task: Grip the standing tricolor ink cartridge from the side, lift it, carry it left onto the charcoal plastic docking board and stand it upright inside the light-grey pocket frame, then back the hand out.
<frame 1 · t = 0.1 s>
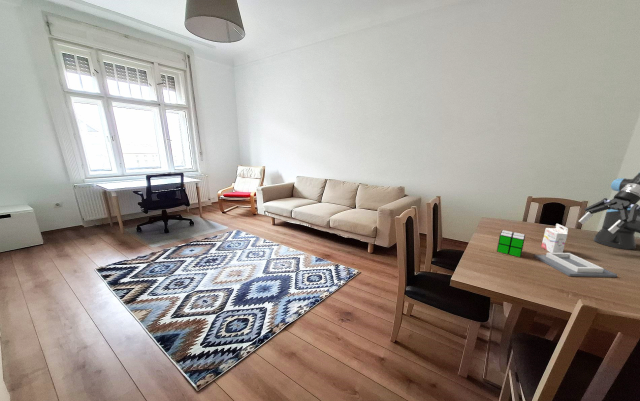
hand: (594, 227, 118), 15 cm above the table, tool tilted 35°, fingers open, 13 cm apart
cartridge dock: (571, 266, 109), on the table
puzzle cube: (508, 251, 124), on the table
ink cartridge box: (551, 250, 125), on the table
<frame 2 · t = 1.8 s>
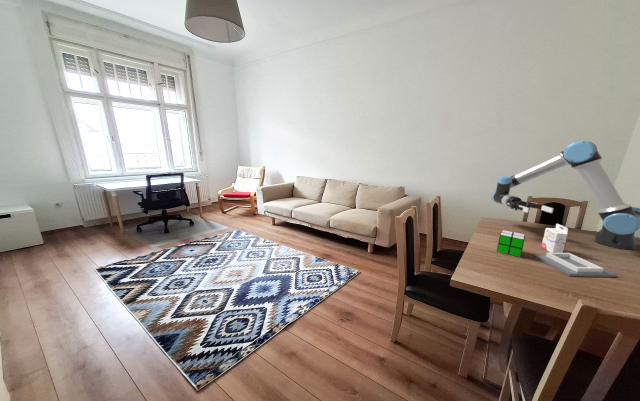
hand: (540, 210, 132), 20 cm above the table, tool horizontal, fingers open, 13 cm apart
nothing on the table moved.
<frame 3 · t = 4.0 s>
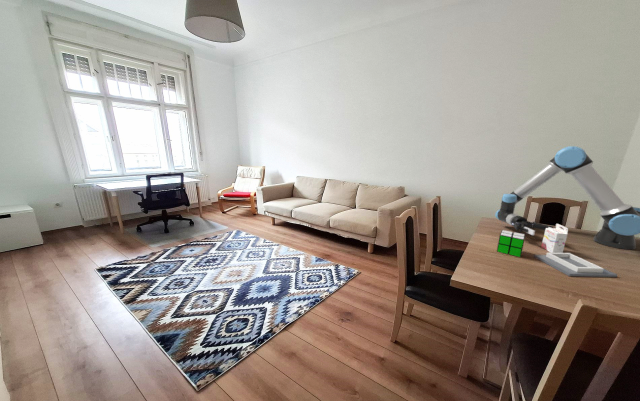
hand: (546, 233, 127), 8 cm above the table, tool horizontal, fingers open, 13 cm apart
nothing on the table moved.
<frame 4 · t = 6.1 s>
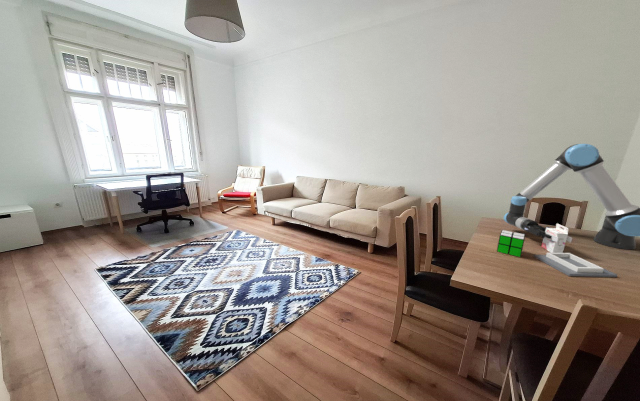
hand: (564, 239, 118), 9 cm above the table, tool horizontal, fingers closed on ink cartridge box, 6 cm apart
ink cartridge box: (551, 250, 125), on the table, touching gripper
everything else where it was.
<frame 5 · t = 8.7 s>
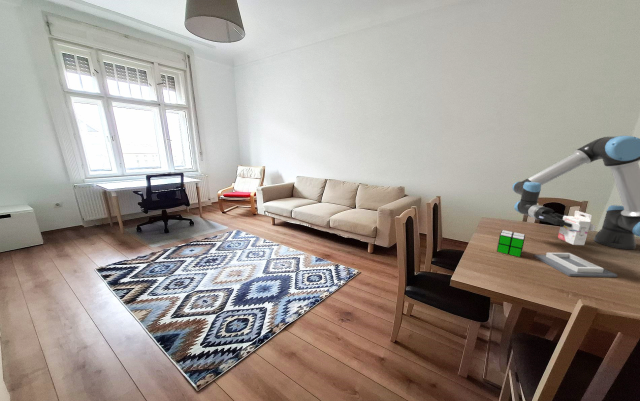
hand: (586, 228, 102), 20 cm above the table, tool horizontal, fingers closed on ink cartridge box, 5 cm apart
ink cartridge box: (570, 241, 110), point 11 cm above the table, touching gripper
everything else where it was.
when the fingers open (11 cm above the table, at t = 11.4 s): ink cartridge box drops 1 cm, resting on cartridge dock.
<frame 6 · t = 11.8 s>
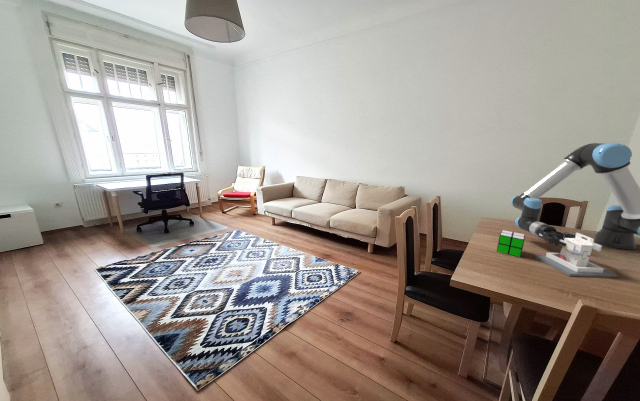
hand: (587, 248, 102), 11 cm above the table, tool horizontal, fingers open, 10 cm apart
ink cartridge box: (571, 264, 109), point 1 cm above the table, touching cartridge dock
everything else where it was.
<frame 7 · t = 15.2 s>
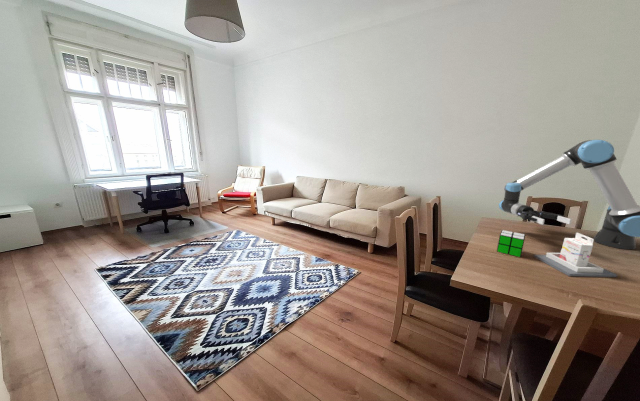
hand: (556, 222, 118), 18 cm above the table, tool horizontal, fingers open, 13 cm apart
nothing on the table moved.
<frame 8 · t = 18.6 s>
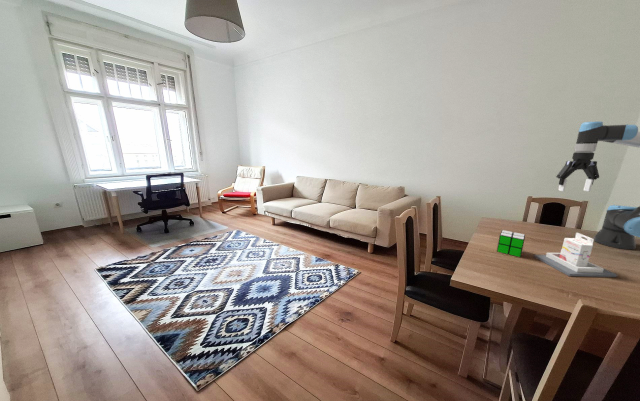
hand: (573, 190, 127), 32 cm above the table, tool pointing down, fingers open, 13 cm apart
nothing on the table moved.
at the end: ink cartridge box inside the target area on the cartridge dock (0.3 cm from its centre), point 1.0 cm above the cartridge dock's base; ink cartridge box tilted 0°; the gripper is holding nothing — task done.
